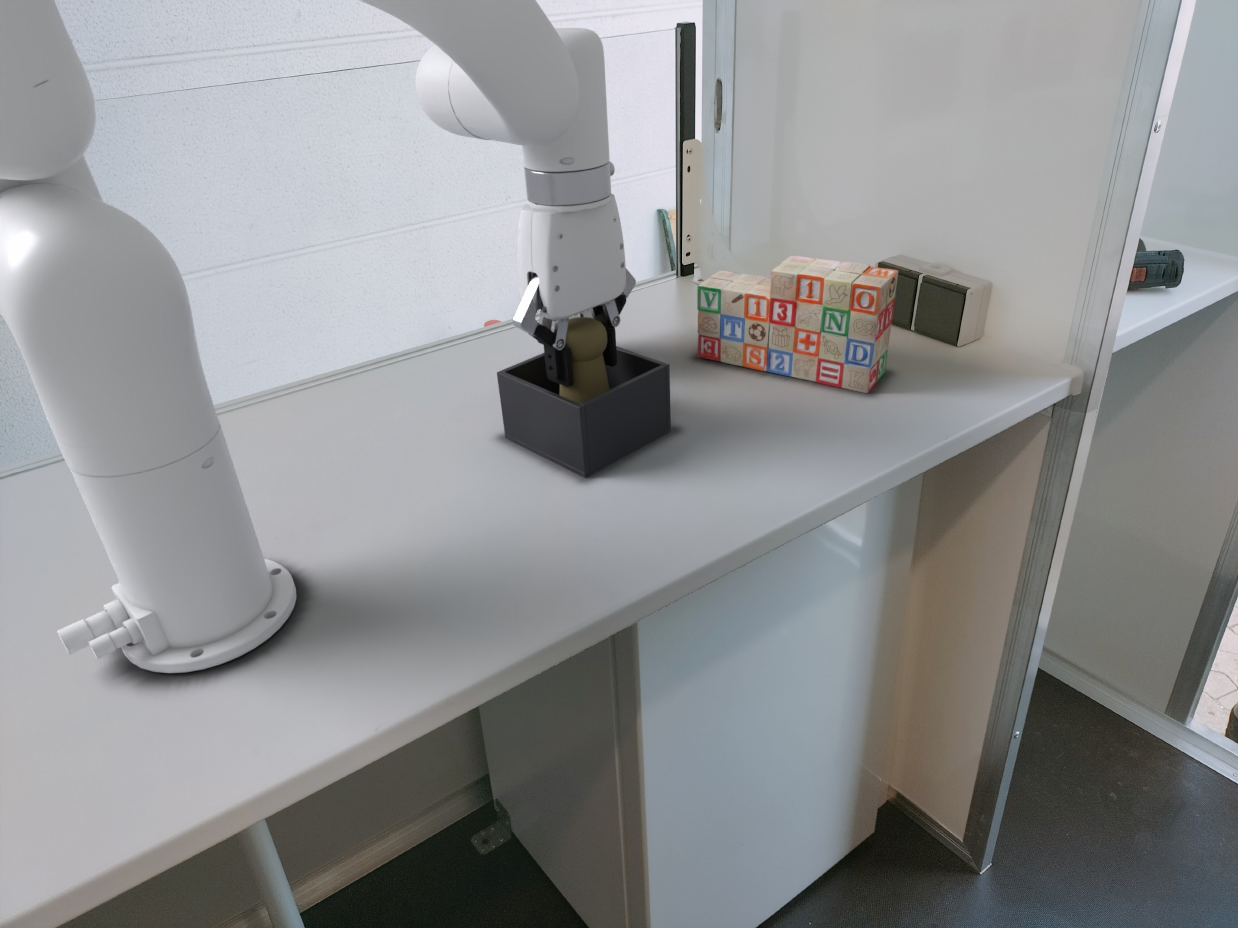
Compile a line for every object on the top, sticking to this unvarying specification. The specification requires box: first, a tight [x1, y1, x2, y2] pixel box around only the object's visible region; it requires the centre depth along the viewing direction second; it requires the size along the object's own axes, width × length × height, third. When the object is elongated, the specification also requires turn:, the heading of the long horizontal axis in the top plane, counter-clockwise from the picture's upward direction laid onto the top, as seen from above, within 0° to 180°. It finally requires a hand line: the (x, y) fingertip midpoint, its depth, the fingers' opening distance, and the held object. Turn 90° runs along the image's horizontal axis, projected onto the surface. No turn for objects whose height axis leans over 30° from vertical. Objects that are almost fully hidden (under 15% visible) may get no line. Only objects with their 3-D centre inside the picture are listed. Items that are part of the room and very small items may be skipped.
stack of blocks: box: [696, 255, 899, 394], centre depth 97 cm, size 21×6×12 cm, turn 58°
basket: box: [496, 345, 672, 479], centre depth 86 cm, size 12×12×8 cm
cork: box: [559, 317, 610, 404], centre depth 85 cm, size 6×6×11 cm
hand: (582, 370), depth 85 cm, fingers closed on cork, 5 cm apart
